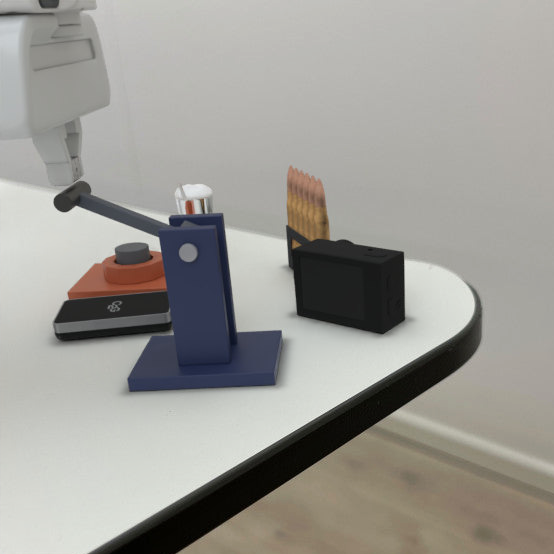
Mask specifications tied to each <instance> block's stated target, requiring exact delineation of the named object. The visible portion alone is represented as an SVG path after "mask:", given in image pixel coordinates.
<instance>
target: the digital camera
mask: <svg viewBox="0 0 554 554" xmlns="http://www.w3.org/2000/svg"><path fill="white" fill-rule="evenodd" d="M292 261H293V270H292V272H293V282H294V294H295V295H294V296H295V307H296V315H298V316H302V317H306V318H311V319H315V320H319V321H324V322H329V323H333V324H338V325H343V326H346V327H347V326H348V327H351V328H354V329H355V328H356V329H360V330H363V331H369V332H373V333H378V334H383V335H384V334H385V333H386V332H388V331H389V330H391V329H393V328H394V327H396V326H397V325H399V324H400V323H402V322H403V321H405V320H406V284H405V283H406V279H405V277H406V274H405V273H406V271H405V268H406V267H405V265H406V264H405V252H404V251H403V250H395V249H389V248H383V247H377V246H370V245H363V244H358V243H354V242H352V241H351V240H349V239H346V238H345V239H343V238H342V239H341V238H340V239H336V240H331V239H330V240H325V239H315V240H313V241H310V242H308V243H306V244H303V245H301V246H298V247H296V248H293V249H292Z"/></svg>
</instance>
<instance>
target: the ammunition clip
mask: <svg viewBox="0 0 554 554" xmlns="http://www.w3.org/2000/svg"><path fill="white" fill-rule="evenodd" d="M316 179H317V180H316ZM323 185H324V184H323V182H322V180H321V179H320V178H316V177H315V176H314V175H311V176H310V174H309V173H308V172H305V173H304V172H303V170H302V169H301V170H299V169H298V168H297V167H293V165H289V167H288V169H287V174H286V191H287V192H286V216H287V224H286V225H285V233H286V244H287V245H286V246H287V248H286V249H287V261H288V262H287V263H288V268H290V269H291V270H292V271H293V261H292V249H293V248H296V247H298V246H301V245H303V244H306V243H308V242H310V241H313V240H315V239H325V240H331V235H330V234H331V233H330V220H329V215H328V211H327V204H326V203H327V199H326V194H325V193H326V192H325V189H324V186H323Z"/></svg>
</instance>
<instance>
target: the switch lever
mask: <svg viewBox="0 0 554 554" xmlns="http://www.w3.org/2000/svg"><path fill="white" fill-rule="evenodd" d="M52 201H53V206H54V208H55V209H56V210H57V211H58V212H60V213H69V212H70V211H72V210H73V209H74V208H75V207H78V208H81V209H82V210H83V209H84V210H86V211H89V212H91V213H94V214H96V215H99V216H102V217H105V218H107V219H109V220H112V221H114V222H118V223H120V224H123V225H125V226H128V227H130V228H133V229H135V230H138V231H141V232H142V233H143V232H144V233H146V234H148V235H151V236H154V237H156V238H159V234H158V230H159V229H160V228H162V227H173V226H171V225H169V223H165V222H163V221H160V220H158V219H155V218H152V217H151V216H147V215H145V214H142V213H139V212H137V211H134V210H133V209H129V208H127V207H124V206H122V205H119V204H117V203H114V202H111V201H109V200H106V199H104V198H101V197H99V196H95V195H93V194H92V187H91V185H90V183H88V182H87V181H84V180H77V181H75V182H74V183H72V184H71V185H69V187H67V188H65V189H64V190H62V191H61V192H59V193H57V194H56V195H55V196H54V197H53V200H52ZM185 226H199V225H196V224H194V223H191V222H189V221H186V220H185V221H184V222H183V224H182V225H181V226H180V227H185Z"/></svg>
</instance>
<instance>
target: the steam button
mask: <svg viewBox="0 0 554 554" xmlns="http://www.w3.org/2000/svg"><path fill="white" fill-rule="evenodd" d="M149 250H150V245H149V244H148V243H147V242H142V241H141V242H136V241H135V242H128V243H127V242H126V243H122V244H120V245H117V246H116V247H114V255H116V261H117V264H120V265H134V264H140V263H145V262H147V261H150V260H151V257H150V251H149Z"/></svg>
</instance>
